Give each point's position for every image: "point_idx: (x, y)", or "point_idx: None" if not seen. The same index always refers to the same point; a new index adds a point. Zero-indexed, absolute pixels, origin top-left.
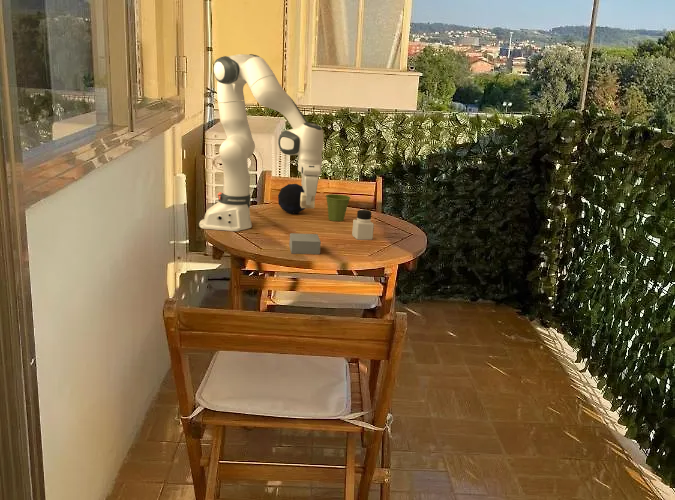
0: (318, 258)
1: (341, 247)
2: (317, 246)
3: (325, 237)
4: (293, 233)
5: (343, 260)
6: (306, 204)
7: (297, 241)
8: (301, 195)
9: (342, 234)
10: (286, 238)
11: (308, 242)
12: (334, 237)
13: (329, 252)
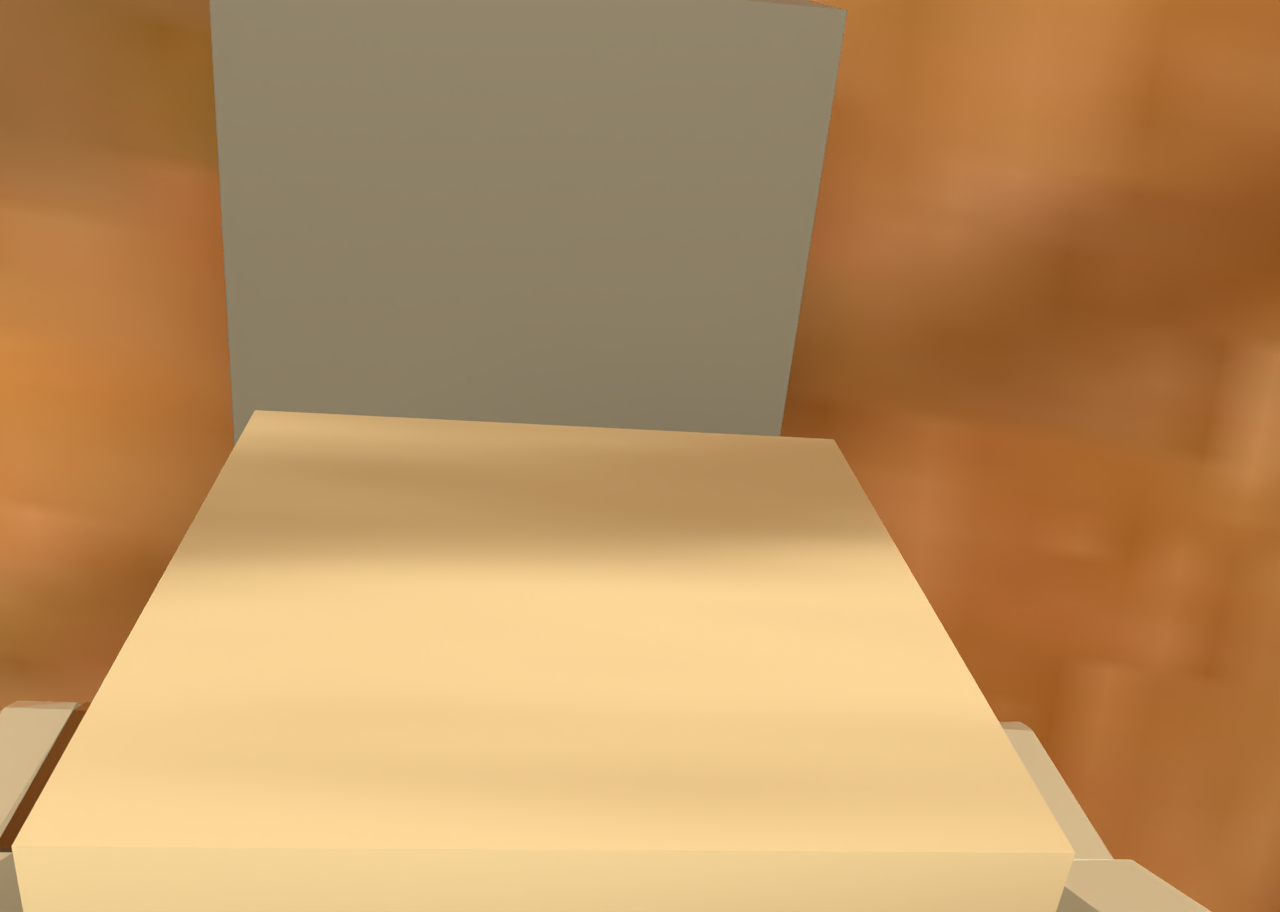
0: (51, 376)
1: None
2: None
3: (1165, 641)
4: (825, 90)
5: (27, 698)
6: (15, 707)
7: (215, 77)
8: (505, 762)
9: (1261, 856)
10: (1228, 17)
11: (229, 305)
12: (1144, 749)
13: None
